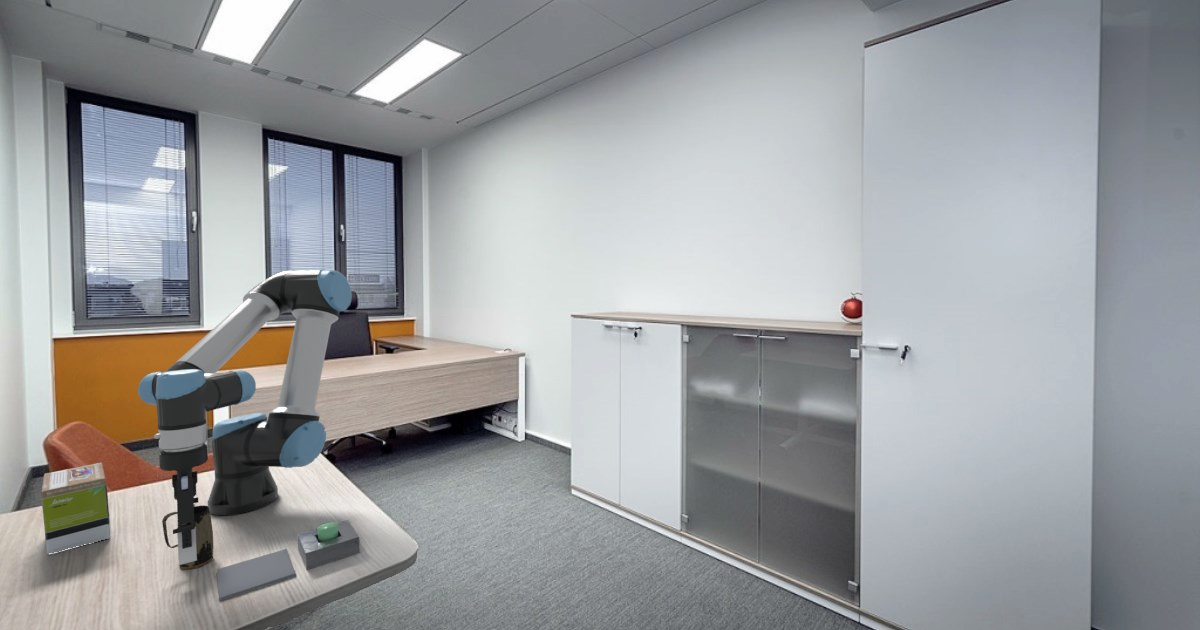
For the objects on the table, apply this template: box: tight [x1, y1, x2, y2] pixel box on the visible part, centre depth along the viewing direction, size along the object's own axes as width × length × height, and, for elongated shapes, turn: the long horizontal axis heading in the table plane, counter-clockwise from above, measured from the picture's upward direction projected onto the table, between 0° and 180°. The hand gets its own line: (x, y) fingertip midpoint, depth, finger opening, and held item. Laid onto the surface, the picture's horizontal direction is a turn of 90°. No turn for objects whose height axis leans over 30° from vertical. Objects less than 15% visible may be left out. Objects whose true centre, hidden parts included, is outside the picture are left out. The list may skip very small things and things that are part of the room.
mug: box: [161, 505, 214, 571], centre depth 101 cm, size 8×6×12 cm
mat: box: [216, 548, 297, 602], centre depth 98 cm, size 12×12×1 cm
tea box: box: [40, 462, 111, 555], centre depth 113 cm, size 15×10×15 cm, turn 47°
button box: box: [297, 520, 361, 571], centre depth 106 cm, size 10×10×4 cm
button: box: [317, 521, 338, 543], centre depth 106 cm, size 4×4×3 cm
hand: (188, 548), depth 101 cm, fingers open, 13 cm apart
